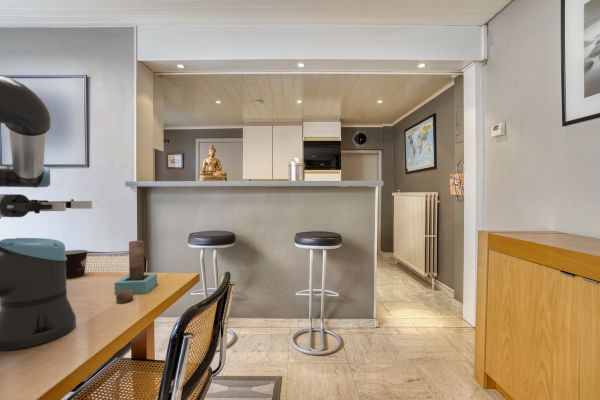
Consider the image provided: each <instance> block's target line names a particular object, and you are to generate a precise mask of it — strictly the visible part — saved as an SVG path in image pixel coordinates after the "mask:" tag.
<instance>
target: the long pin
mask: <svg viewBox="0 0 600 400" xmlns="http://www.w3.org/2000/svg"><path fill="white" fill-rule="evenodd" d="M144 243H145V242H144V240H132V241H129V242H128V263H129V264H128V265H129V266H128V267H129V271H128V275H129V281H140V280H144V274H145V257H144V256H145V255H144V254H145V253H144V252H145V248H144V247H145V246H144Z"/></svg>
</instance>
